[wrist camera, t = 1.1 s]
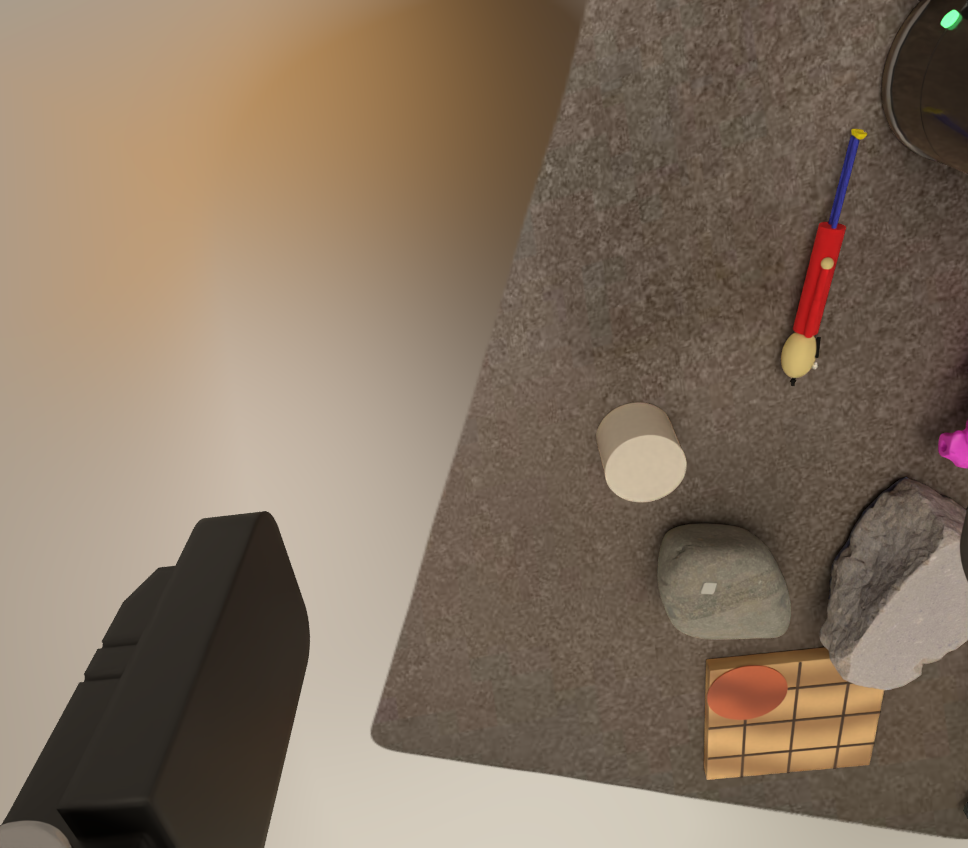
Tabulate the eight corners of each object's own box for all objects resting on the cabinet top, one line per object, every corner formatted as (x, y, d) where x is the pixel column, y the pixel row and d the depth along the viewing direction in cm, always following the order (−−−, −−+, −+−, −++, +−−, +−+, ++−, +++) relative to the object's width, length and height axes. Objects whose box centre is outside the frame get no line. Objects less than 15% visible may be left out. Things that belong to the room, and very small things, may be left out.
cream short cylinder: (593, 407, 50) (602, 440, 47) (672, 397, 50) (686, 430, 46) (598, 470, 53) (606, 506, 49) (672, 461, 52) (686, 497, 49)
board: (703, 657, 62) (707, 670, 61) (885, 639, 61) (892, 651, 60) (701, 767, 69) (705, 781, 68) (863, 752, 69) (870, 765, 67)
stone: (645, 628, 60) (673, 679, 50) (635, 514, 60) (661, 542, 50) (763, 618, 60) (814, 666, 50) (754, 503, 59) (804, 529, 49)
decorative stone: (991, 468, 53) (850, 467, 52) (1059, 534, 47) (902, 533, 47) (917, 622, 61) (794, 623, 60) (968, 695, 55) (832, 696, 54)
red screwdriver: (873, 126, 41) (805, 376, 49) (830, 125, 41) (770, 374, 49) (888, 137, 39) (815, 397, 47) (843, 135, 39) (778, 394, 47)
